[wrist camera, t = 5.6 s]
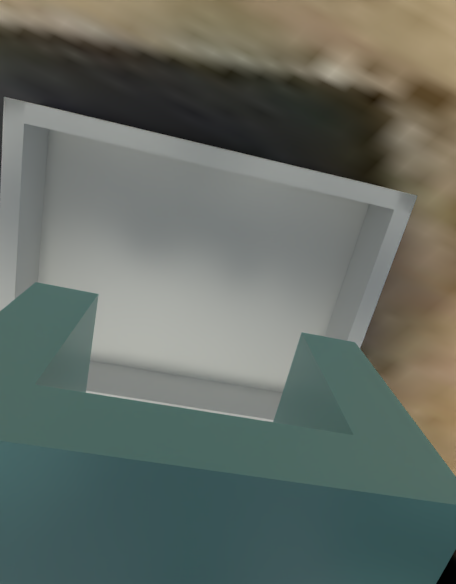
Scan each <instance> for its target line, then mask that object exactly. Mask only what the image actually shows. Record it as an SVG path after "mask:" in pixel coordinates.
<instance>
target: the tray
mask: <svg viewBox="0 0 456 584" xmlns="http://www.w3.org/2000/svg"><path fill="white" fill-rule="evenodd" d="M416 198H417V196H416V195H413V194H409V193H405V192H401V191H397V190H393V189H390V188H386V187H382V186H378V185H373V184H369V183H365V182H361V181H357V180H353V179H348V178H344V177H340V176H336V175H332V174H327V173H323V172H319V171H315V170H311V169H307V168H302V167H298V166H294V165H290V164H286V163H282V162H277V161H273V160H269V159H265V158H261V157H256V156H252V155H248V154H244V153H240V152H236V151H231V150H227V149H223V148H219V147H215V146H211V145H206V144H202V143H198V142H194V141H190V140H185V139H181V138H177V137H173V136H169V135H165V134H160V133H156V132H152V131H148V130H144V129H140V128H135V127H131V126H127V125H123V124H119V123H114V122H110V121H106V120H102V119H98V118H94V117H89V116H85V115H81V114H77V113H73V112H69V111H64V110H60V109H56V108H52V107H48V106H43V105H39V104H35V103H30V102H25V101H21V100H16V99H12V98H7V97H4V107H3V134H2V161H1V188H0V311H1V310H2V309H3V308H5V307H6V306H7V305H8V304H10V303H11V302H12V301H13V300H14V299H16V298H17V297H18V296H19V295H21V294H22V293H23V292H24V291H25V290H27V289H28V288H29V287H30V286H31V285H33V284H34V283H35V282H38V283H43V284H49V285H54V286H59V287H64V288H70V289H75V290H80V291H86V292H91V293H96V294H99V295H98V302H97V310H96V318H95V325H94V333H93V341H92V349H91V356H90V364H89V372H88V380H87V387H86V393H91V394H98V395H104V396H110V397H117V398H123V399H129V400H136V401H142V402H148V403H155V404H161V405H167V406H173V407H180V408H186V409H192V410H199V411H205V412H211V413H218V414H224V415H230V416H237V417H243V418H249V419H256V420H262V421H268V422H273V421H274V418H275V415H276V412H277V408H278V405H279V402H280V399H281V396H282V393H283V389H284V386H285V383H286V380H287V377H288V374H289V371H290V367H291V364H292V361H293V358H294V355H295V352H296V348H297V345H298V342H299V339H300V336H301V333H302V332H303V333H309V334H314V335H319V336H324V337H330V338H335V339H340V340H346V341H351V342H355V343H356V344H357V345H358V347H359V348H360V347H361V345H362V342H363V339H364V337H365V334H366V331H367V329H368V326H369V323H370V321H371V318H372V315H373V313H374V310H375V307H376V305H377V302H378V299H379V297H380V294H381V291H382V289H383V286H384V283H385V281H386V278H387V275H388V273H389V270H390V267H391V265H392V262H393V259H394V257H395V254H396V251H397V249H398V246H399V243H400V241H401V238H402V235H403V233H404V230H405V228H406V225H407V222H408V220H409V217H410V214H411V212H412V209H413V206H414V204H415V201H416Z"/></svg>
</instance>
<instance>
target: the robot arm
mask: <svg viewBox="0 0 456 584" xmlns="http://www.w3.org/2000/svg"><path fill="white" fill-rule="evenodd" d="M436 584H456V550H455V551H454V553H453V555H452V557H451V558H450V560H449V562H448V564H447V566H446V567H445V569H444V571H443V573H442V574H441V576H440V578H439V580H438V581H437V583H436Z"/></svg>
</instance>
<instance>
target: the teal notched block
mask: <svg viewBox="0 0 456 584" xmlns="http://www.w3.org/2000/svg"><path fill="white" fill-rule="evenodd" d="M98 295H99V294H96V293H91V292H86V291H80V290H75V289H70V288H64V287H59V286H54V285H49V284H43V283H38V282H35V283H34V284H33V285H31V286H30V287H29V288H28V289H27V290H25V291H24V292H23V293H22V294H21V295H19V296H18V297H17V298H16V299H14V300H13V301H12V302H11V303H10V304H8V305H7V306H6V307H5V308H3V309H2V310H1V311H0V584H436V583H437V581H438V580H439V578H440V576H441V574H442V573H443V571H444V569H445V567H446V566H447V564H448V562H449V560H450V558H451V557H452V555H453V553H454V551H455V550H456V476H455V475H454V474H453V472H452V471H451V470H450V468H449V467H448V466H447V464H446V463H445V462H444V460H443V459H442V458H441V456H440V455H439V454H438V452H437V451H436V450H435V448H434V447H433V446H432V444H431V443H430V442H429V440H428V439H427V438H426V436H425V435H424V434H423V432H422V431H421V430H420V428H419V427H418V426H417V424H416V423H415V422H414V420H413V419H412V418H411V416H410V415H409V414H408V412H407V411H406V410H405V408H404V407H403V406H402V404H401V403H400V402H399V400H398V399H397V398H396V396H395V395H394V394H393V392H392V391H391V390H390V388H389V387H388V386H387V384H386V383H385V381H384V380H383V379H382V377H381V376H380V375H379V373H378V372H377V371H376V369H375V368H374V367H373V365H372V364H371V363H370V361H369V360H368V359H367V357H366V356H365V355H364V353H363V352H362V351H361V349H360V348H359V347H358V345H357V344H356V343H355V342H351V341H346V340H340V339H335V338H330V337H324V336H319V335H314V334H309V333H303V332H302V333H301V336H300V339H299V342H298V345H297V348H296V352H295V355H294V358H293V361H292V364H291V367H290V371H289V374H288V377H287V380H286V383H285V386H284V389H283V393H282V396H281V399H280V402H279V405H278V408H277V412H276V415H275V418H274V421H273V422H268V421H262V420H256V419H249V418H243V417H237V416H230V415H224V414H218V413H211V412H205V411H199V410H192V409H186V408H180V407H173V406H167V405H161V404H155V403H148V402H142V401H136V400H129V399H123V398H117V397H110V396H104V395H98V394H91V393H86V387H87V380H88V372H89V364H90V356H91V349H92V341H93V333H94V325H95V318H96V310H97V302H98Z"/></svg>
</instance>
